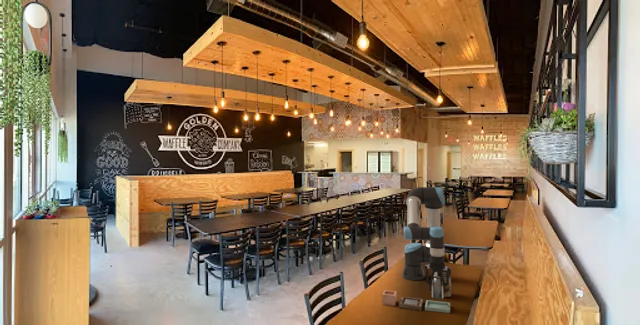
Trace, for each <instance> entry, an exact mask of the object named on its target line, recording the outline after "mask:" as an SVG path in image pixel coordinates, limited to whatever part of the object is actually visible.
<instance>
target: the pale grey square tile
mask: <svg viewBox="0 0 640 325" xmlns="http://www.w3.org/2000/svg"><path fill="white" fill-rule="evenodd" d="M404 304H408V305H417V304H418V300H410V299H405V302H404Z"/></svg>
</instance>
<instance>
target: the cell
mask: <svg viewBox="0 0 640 325" xmlns="http://www.w3.org/2000/svg"><path fill="white" fill-rule="evenodd" d="M432 284H433V297H432V298H433V299H436V300H441V299H443V298H442V279H441V277H439V276H434V277H433V282H432Z"/></svg>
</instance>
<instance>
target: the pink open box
mask: <svg viewBox="0 0 640 325" xmlns="http://www.w3.org/2000/svg"><path fill="white" fill-rule="evenodd" d="M397 294H398V293H397V291H395V290H386V289H385V290H384V291H383V292H382V295H381V296H382V305H383V306H390V307H396V306H397V305H396V304H397V302H398V301H397V300H398V299H397V298H398V295H397Z"/></svg>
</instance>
